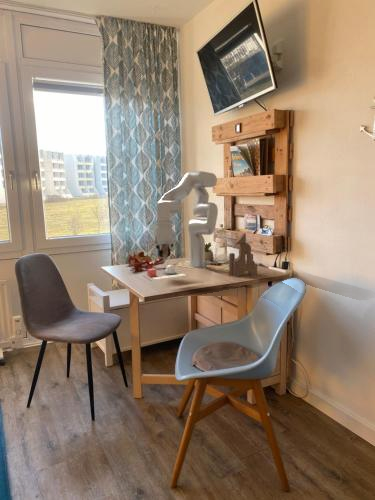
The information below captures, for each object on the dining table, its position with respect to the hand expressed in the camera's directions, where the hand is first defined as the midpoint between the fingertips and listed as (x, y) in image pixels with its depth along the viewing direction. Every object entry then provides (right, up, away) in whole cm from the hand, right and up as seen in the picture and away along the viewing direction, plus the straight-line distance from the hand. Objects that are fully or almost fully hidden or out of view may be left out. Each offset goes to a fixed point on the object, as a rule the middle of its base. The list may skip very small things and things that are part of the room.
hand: (164, 256), depth 212 cm
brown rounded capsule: (0, -1, 0) cm, 0 cm away
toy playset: (-15, -9, +32) cm, 36 cm away
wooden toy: (+45, -12, +11) cm, 48 cm away
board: (0, -13, +6) cm, 14 cm away
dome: (+3, -10, +11) cm, 15 cm away
